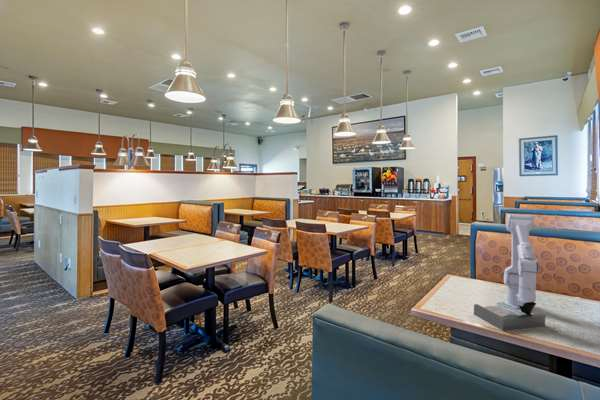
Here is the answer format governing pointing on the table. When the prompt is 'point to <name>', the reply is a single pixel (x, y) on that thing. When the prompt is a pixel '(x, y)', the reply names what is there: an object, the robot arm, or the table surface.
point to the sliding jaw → (510, 309)
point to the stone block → (500, 311)
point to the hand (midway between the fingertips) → (525, 318)
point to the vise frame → (509, 319)
